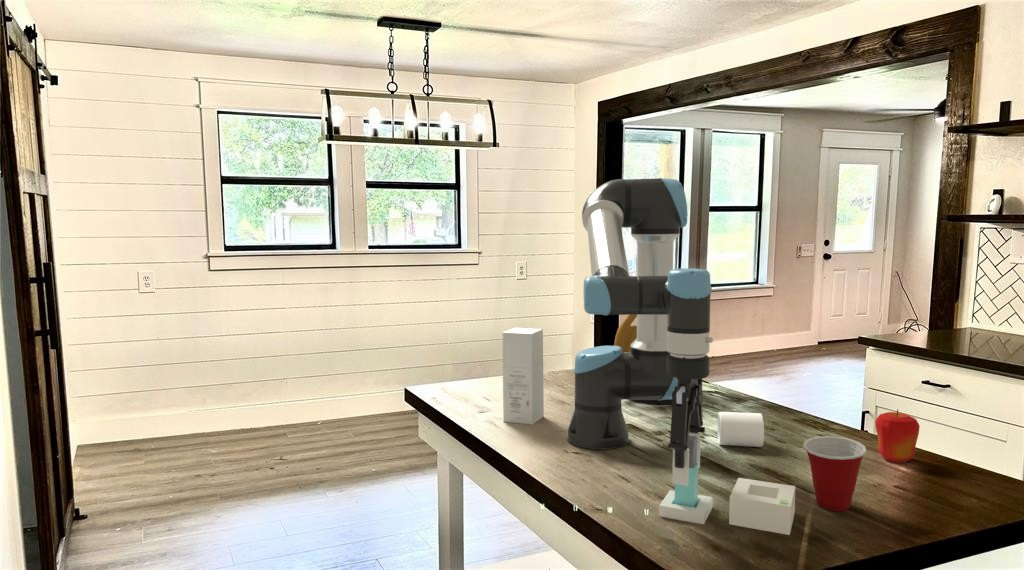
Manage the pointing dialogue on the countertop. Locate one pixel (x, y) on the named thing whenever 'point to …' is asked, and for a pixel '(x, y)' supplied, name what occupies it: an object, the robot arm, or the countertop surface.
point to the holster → (686, 509)
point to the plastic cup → (834, 470)
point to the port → (762, 505)
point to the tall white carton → (523, 375)
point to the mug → (740, 429)
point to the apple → (897, 436)
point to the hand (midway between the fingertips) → (686, 474)
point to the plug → (690, 492)
